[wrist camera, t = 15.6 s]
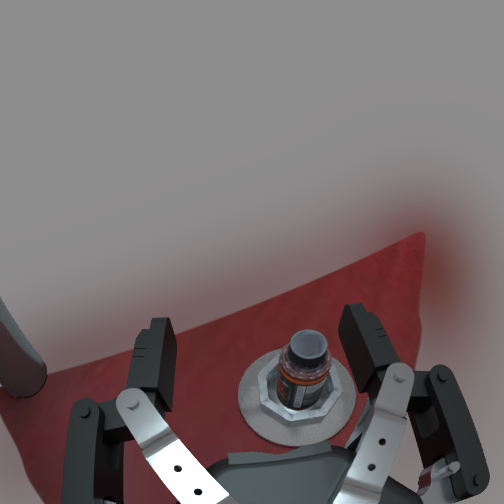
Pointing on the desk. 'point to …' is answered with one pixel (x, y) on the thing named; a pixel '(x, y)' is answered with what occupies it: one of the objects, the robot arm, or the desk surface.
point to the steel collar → (288, 420)
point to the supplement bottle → (303, 370)
